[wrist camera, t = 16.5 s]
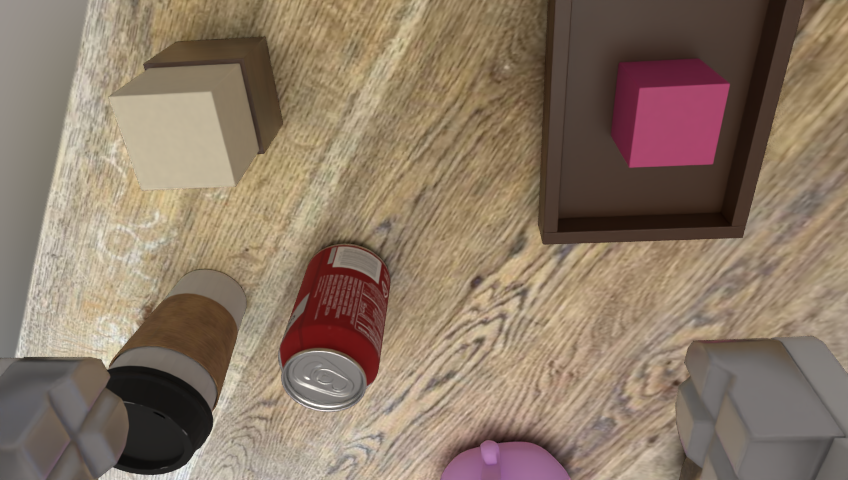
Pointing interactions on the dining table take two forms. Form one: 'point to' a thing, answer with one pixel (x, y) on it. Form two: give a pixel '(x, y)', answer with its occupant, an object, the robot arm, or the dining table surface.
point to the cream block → (187, 126)
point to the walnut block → (254, 73)
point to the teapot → (505, 463)
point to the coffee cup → (177, 371)
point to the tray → (594, 104)
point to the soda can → (336, 329)
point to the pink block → (668, 112)
